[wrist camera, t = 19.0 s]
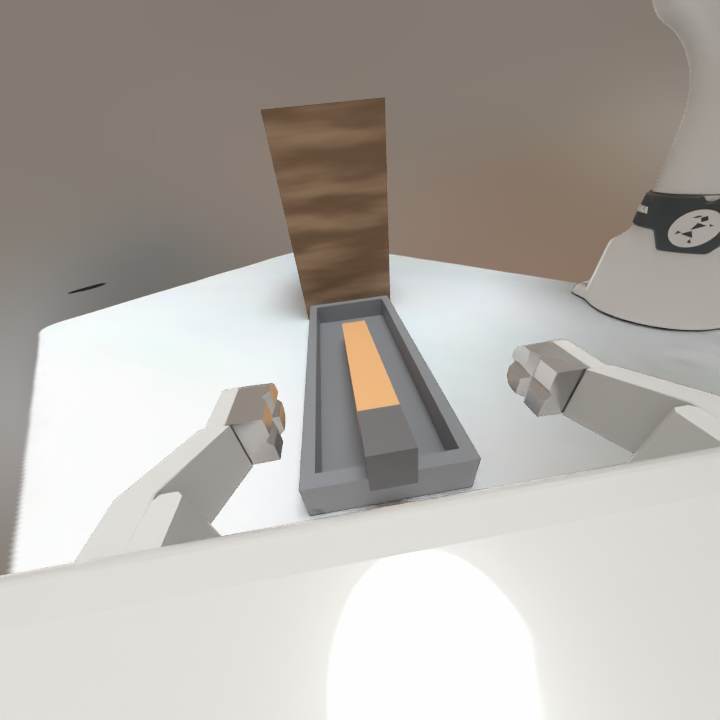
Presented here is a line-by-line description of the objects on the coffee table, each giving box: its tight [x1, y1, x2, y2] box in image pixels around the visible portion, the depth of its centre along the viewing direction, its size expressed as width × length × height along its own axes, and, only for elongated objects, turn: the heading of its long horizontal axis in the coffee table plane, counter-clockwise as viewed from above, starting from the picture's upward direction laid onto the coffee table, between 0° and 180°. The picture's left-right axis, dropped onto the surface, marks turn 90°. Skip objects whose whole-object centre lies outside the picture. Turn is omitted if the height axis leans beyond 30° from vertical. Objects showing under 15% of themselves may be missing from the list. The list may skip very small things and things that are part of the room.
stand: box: [261, 98, 390, 320], centre depth 43 cm, size 16×14×26 cm
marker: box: [342, 320, 418, 491], centre depth 25 cm, size 22×3×3 cm, turn 7°
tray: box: [299, 295, 481, 516], centre depth 30 cm, size 29×12×4 cm, turn 7°
